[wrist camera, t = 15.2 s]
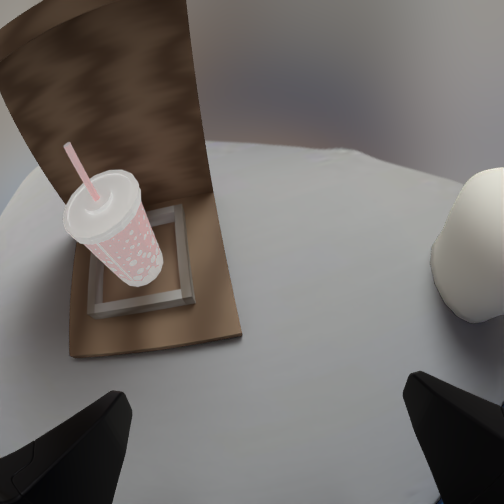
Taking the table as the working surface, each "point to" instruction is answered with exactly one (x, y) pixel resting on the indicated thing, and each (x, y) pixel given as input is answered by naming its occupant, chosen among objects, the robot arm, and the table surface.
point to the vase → (473, 250)
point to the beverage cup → (113, 223)
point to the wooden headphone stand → (125, 161)
